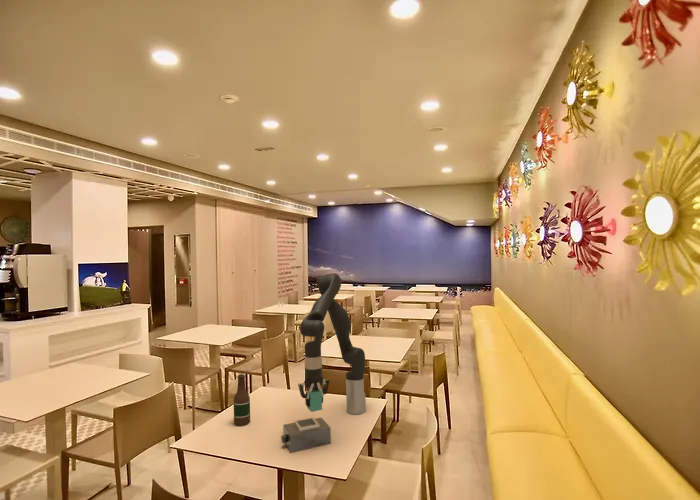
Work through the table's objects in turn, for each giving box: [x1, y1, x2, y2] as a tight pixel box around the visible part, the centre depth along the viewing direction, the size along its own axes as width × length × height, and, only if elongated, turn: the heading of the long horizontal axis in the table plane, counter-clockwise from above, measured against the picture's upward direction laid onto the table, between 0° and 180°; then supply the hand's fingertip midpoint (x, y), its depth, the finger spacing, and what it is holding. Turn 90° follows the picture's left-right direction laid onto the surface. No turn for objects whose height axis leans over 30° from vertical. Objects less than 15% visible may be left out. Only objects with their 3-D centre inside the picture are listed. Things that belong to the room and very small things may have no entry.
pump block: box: [306, 390, 323, 413], centre depth 170 cm, size 5×5×8 cm
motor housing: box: [280, 417, 332, 454], centre depth 173 cm, size 20×12×8 cm, turn 114°
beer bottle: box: [233, 373, 251, 427], centre depth 194 cm, size 8×8×24 cm
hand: (314, 405), depth 170 cm, fingers closed on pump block, 5 cm apart
